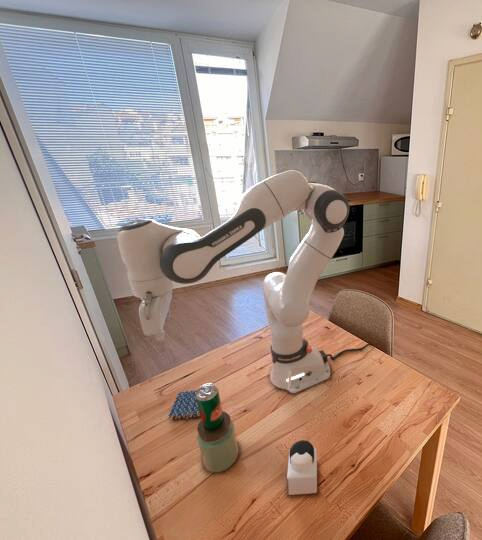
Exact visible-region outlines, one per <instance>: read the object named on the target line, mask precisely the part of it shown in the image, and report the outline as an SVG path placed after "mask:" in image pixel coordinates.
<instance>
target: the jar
mask: <svg viewBox="0 0 482 540" xmlns="http://www.w3.org/2000/svg"><path fill="white" fill-rule="evenodd" d="M222 411H223V416H224V422H223V424H222V425H221V426H220V427H219V428H218V429H216V430H214V431H207V430H205V429H204V428H203V424H202V420H201V419H200V421H199V422H198V425H197V428H196V431H197V437H196V438H197V443H198V446H199V447H198V448H199V451H200V455H201V459H202V463H203V465H204V468H205V469H206V470H207V471H208V472H210V473H221V472H223V471H226V470H227V469H229V468H230V467H231V466H232V465H233V464H234V463H235V462H236V460H237V458H238V455H239V446H238V440H237V436H236V431H235V426H234V425H235V424H234V422H233V420H232V419H231V416H230V414H229V413H228V412H226V411H224V410H222Z"/></svg>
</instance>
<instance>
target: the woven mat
mask: <svg viewBox="0 0 482 540" xmlns="http://www.w3.org/2000/svg"><path fill="white" fill-rule="evenodd" d="M197 390H198V389H197ZM197 390H189V391H187V390H186V391H185V390H184V391H181V392H179V393H177V397H176V398H175V399H176V400H174V402H173V403H174V404H173V405H172V409H170V413H169V414H168V419H169V420H173V419H174V420H178V419H181V418H182V419H186V420H188V419H189V418H192V417H193V418H196V417H201V416H200V412H199V408H198V404H197V400H196V394H197Z"/></svg>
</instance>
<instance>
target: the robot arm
mask: <svg viewBox="0 0 482 540" xmlns="http://www.w3.org/2000/svg"><path fill="white" fill-rule="evenodd" d="M297 211H300V213H302V214H303V215H305V216H306V217H307V218H308V219H309V220H311V225H310V228H309V230H308V232H307V233H306V234H305V236H304V238H303V239H302V240H301V242H300V243H299V245H298V246H297V247H296V249H295V251H294V252H293V254H291V257H290V258H289V261H288V267H287V271H286V274H285V273H284V272H281V271H274V272H272V273H269V274H268V275H266V277H265V278H264V280H263V282H262V292H263V293H262V294H263V297H264V298H263V299H264V304H265V305H264V306H265V310H266V316H267V322H268V326H269V332H270V359H271V361H272V362H271V369H270V374H269V380H270V383H271V384H272V385H273V386H274V387H276V388H278V389H281V390H286V391H288V392H289V393H290V394H297V393H299V392H301V391H304V390H306V389H308V388H310V387H313V386H315V385H317V384H319V383H321V382H324V381H326V380H328V379H330V377H331V368H330V367H331V366H330V364H329V362H328V357H330V359H331V360H336V359H337V358H338V357H339V356H341V355H342V354H344V353H347V352H357V351H358V352H359V351H361V350H364V349H366V348H367V347H368V346H373V345H374V344H373V343H371V342H369V343H366V344H365V345H364V346H362V347H359V348H349V349H348V348H347V349H343V350H342V351H340V352H339V353H338V354H337V355H335V356H333V355H332V354H331V353H326V352H325V351H324V350H323V349H322V350H319V349H317V348H316V347H314V346H311V345H309V342H308V340H307V339H306V338H305V336H304V334H303V323H304V322H305V321H307V319H308V317H309V314H310V303H311V299H312V296H313V293H314V290H315V288H316V284H317V282H318V280H319V278H320V277H321V275H322V274H323V272H324V271H325V269H326V267H327V266H328V264H329V263H330V261H331V260H332V258H333V257H334V255H335V253H337V250H338V248H339V246H340V245H341V242H342V240H343V238H344V236H345V230H344V226H345V224H346V221H347V220H348V217H349V215H350V203H349V200H348V199H347V197H346V196H345V195H344V194H342V193H341V192H340V191H338V190H336V189H334V188H332V187H331V186H329V185H326V184H321V183H318V182H316V181H309V180H307V178H306V177H305V176H304V175H303V173H301V171H298V170H297V169H296V170H295V169H289V170H286V171H283V172H279V173H277V174H274V175H272V176H270V177H267V178H266V179H263V180H262V181H260V182H258V183H256V184H255V185H253V186H251V187H250V188H248V189H247V190H246V191H245V192H244V193H243V194H241V197H240V199H239V202H238V206H237V209H236V211H235V213H234V214H233V216H232V217H231V218H229V219H228V220H227V221H226V222H224V223H222V224H220V225H219V226H217V227H216V228H214V229H213V230H211V231H209V232H208V233H206V234H204V235H203V236H201V235H200V233H198V232H197V231H195V230H194V229H191V228H185V227H182V228H181V227H174V226H170V225H166V224H162V223H159V222H158V221H156V220H154V219H151V218H140V219H136V220H131V221H129V222H127V223H125V224H123V225H122V226H121V227H120V228H119V230H118V231H117V235H116V236H117V237H116V239H117V244H118V245H117V246H118V250H119V253H120V258H121V260H122V263H123V264H124V265H125V267H126V270H127V275H126V276H127V280H128V283H129V287H130V289H131V292H132V295H133V297H135V298H138V299H140V300H141V303H140V304H139V306H138V316H139V321H140V325H141V329H142V332H143V334H144V335H145V336H146V337H149V336H150V337H151V336H154V337H155V339H156V341H157V342H163V341H165V339H166V333H165V331H164V326H165V324H166V322H169V321H170V320H171V311H170V306H171V302H172V299H173V288H174V284H173V283H176V284H181V285H182V284H183V285H188V284H194V283H197V282H199V281H201V280H202V279H204V278H205V277H206V276H207V275H208V273H210V272H211V270H212V269H213V267H214V266H215V264H216V263H218V262H219V261H220V260H221V259H222V258H224V257H226V256H227V255H229V254H230V253H231V252H234V250H236V249H238V248H239V247H241V245H243V244H245V243H246V242H247V241H249V240H250V239H252V238H253V237H255V236H256V235H257V234H259V233H260V232H262V231H263V230H264V229H266V228H268V227H270V226H271V225H273V224H274V223H276V222H279V221H280V220H281V219H283V218H285V217H286V216H288V215H289V214H291V213H293V212H297Z"/></svg>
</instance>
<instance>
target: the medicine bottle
mask: <svg viewBox="0 0 482 540" xmlns="http://www.w3.org/2000/svg"><path fill="white" fill-rule="evenodd" d="M286 481H287V483H286V484H287V493H288V495H289V496H295V495H307V494H316V493H317V492H318V450H317V448H314V445H313V444H312V442H311V441H308V440H303V439H301V440H298V441H296V442H294V443H293V444H292V446H291V447H290V449H289V451H288V463H287V474H286Z"/></svg>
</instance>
